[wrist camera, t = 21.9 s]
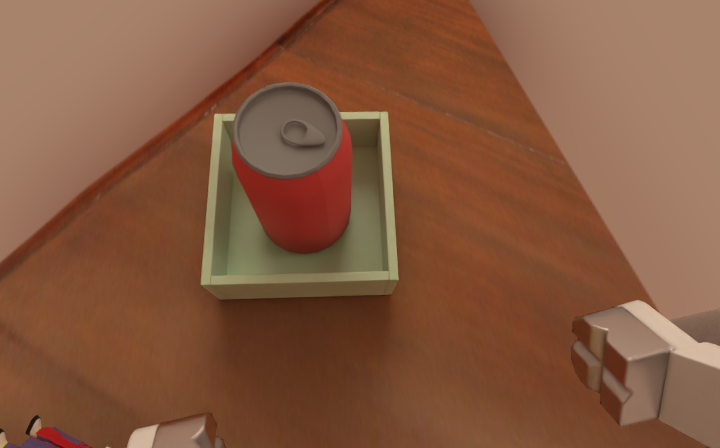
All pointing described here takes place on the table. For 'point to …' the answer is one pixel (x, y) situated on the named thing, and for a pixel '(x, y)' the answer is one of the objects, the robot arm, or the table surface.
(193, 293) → the table surface
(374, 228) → the tub
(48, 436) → the figurine
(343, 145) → the beer can
